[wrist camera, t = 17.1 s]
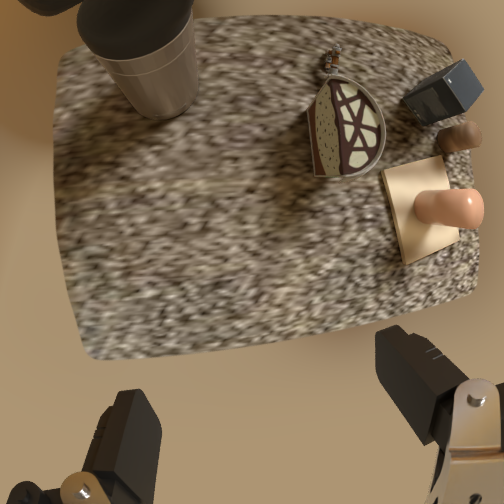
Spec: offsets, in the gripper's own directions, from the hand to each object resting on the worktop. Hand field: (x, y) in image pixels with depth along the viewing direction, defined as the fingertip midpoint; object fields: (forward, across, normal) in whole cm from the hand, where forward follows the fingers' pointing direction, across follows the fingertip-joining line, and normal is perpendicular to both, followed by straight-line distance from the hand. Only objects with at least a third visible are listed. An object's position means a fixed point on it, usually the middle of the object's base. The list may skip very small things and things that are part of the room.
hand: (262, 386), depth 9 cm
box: (+34, -34, -12) cm, 50 cm away
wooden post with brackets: (+34, -18, -17) cm, 42 cm away
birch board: (+31, -29, +4) cm, 42 cm away
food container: (+32, -16, -7) cm, 37 cm away
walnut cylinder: (+33, -37, -5) cm, 50 cm away
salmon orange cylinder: (+30, -29, +4) cm, 42 cm away
